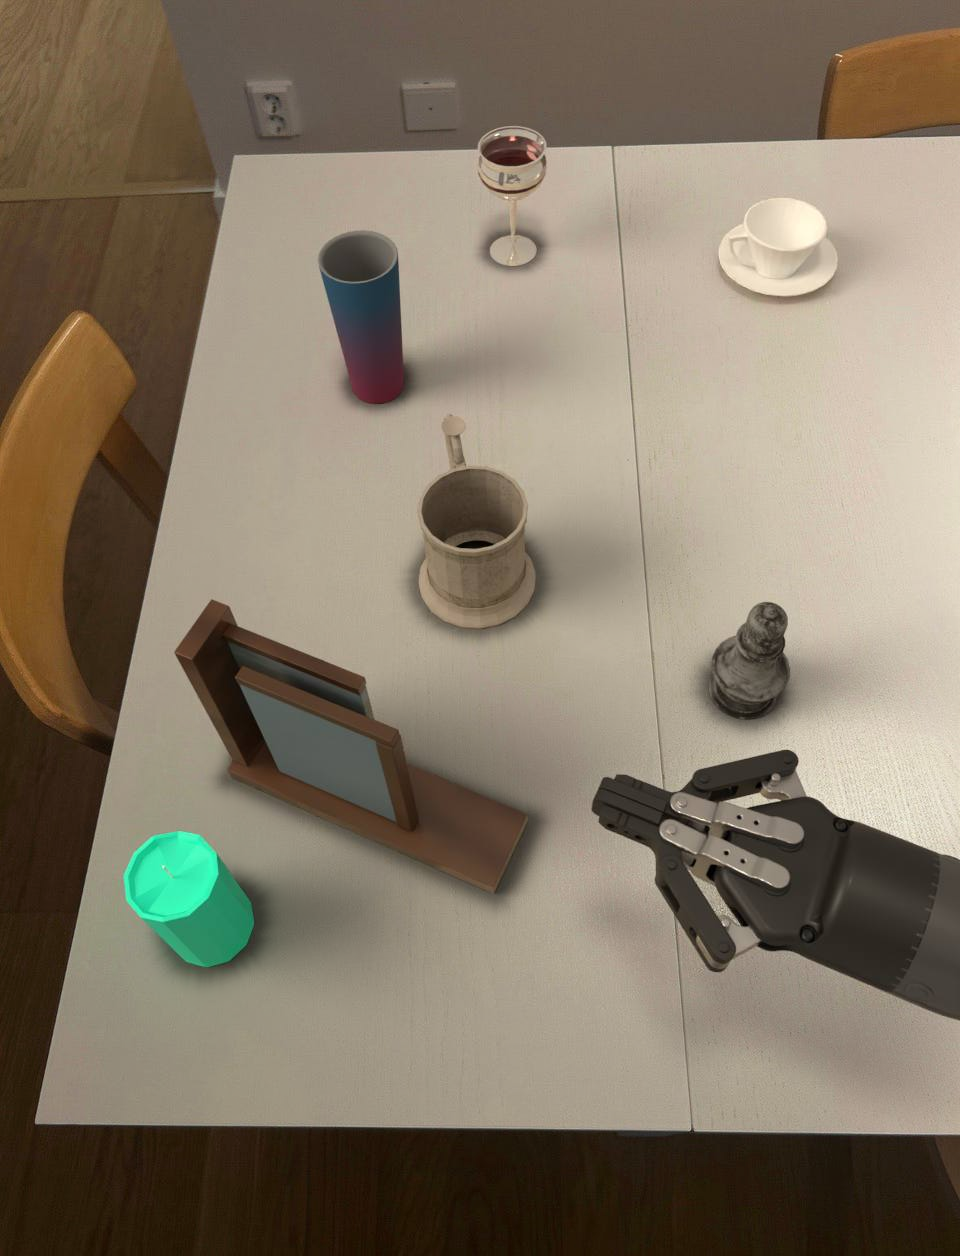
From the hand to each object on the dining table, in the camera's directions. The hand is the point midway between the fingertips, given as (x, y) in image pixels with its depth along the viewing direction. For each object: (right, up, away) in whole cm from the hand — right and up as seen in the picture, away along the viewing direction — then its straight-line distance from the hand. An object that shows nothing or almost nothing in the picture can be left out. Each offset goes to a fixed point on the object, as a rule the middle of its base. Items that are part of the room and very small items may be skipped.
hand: (597, 793), depth 58 cm
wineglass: (-3, +49, +54) cm, 73 cm away
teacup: (+24, +46, +52) cm, 73 cm away
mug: (-7, +15, +33) cm, 37 cm away
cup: (-16, +32, +45) cm, 57 cm away
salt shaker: (+14, +4, +26) cm, 30 cm away
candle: (-25, -12, +17) cm, 33 cm away
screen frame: (-14, -4, +21) cm, 26 cm away
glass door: (-16, -3, +20) cm, 26 cm away
